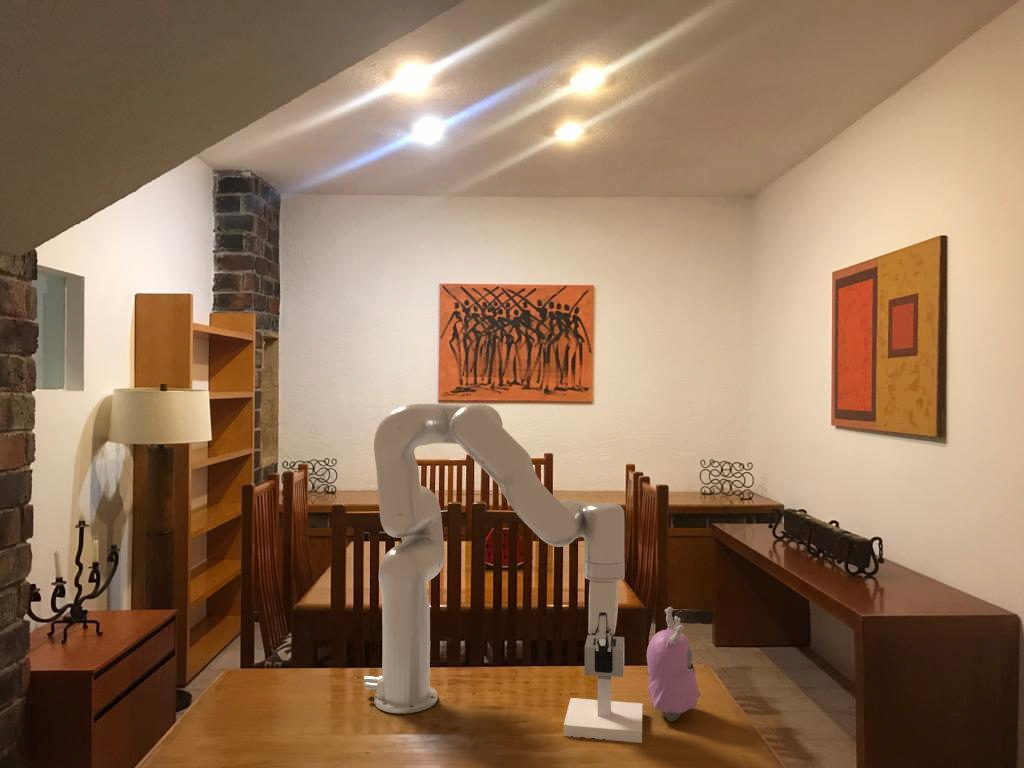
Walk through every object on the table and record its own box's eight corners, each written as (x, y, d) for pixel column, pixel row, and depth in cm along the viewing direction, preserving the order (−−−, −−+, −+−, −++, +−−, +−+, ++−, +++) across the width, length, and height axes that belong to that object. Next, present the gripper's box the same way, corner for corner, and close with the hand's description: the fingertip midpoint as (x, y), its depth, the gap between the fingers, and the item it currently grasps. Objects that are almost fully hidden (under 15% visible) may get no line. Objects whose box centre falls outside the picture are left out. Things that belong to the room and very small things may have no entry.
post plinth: (563, 736, 133) (563, 686, 133) (570, 708, 145) (570, 662, 145) (641, 742, 130) (641, 692, 130) (642, 713, 142) (642, 667, 142)
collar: (584, 674, 135) (584, 647, 135) (587, 660, 142) (587, 634, 142) (623, 677, 133) (623, 649, 133) (624, 663, 140) (624, 637, 140)
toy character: (702, 731, 135) (702, 622, 135) (646, 725, 137) (646, 618, 137) (699, 703, 147) (699, 603, 147) (647, 699, 149) (647, 600, 149)
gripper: (588, 558, 147) (588, 647, 147) (580, 580, 130) (580, 680, 130) (625, 559, 146) (626, 649, 145) (623, 582, 129) (623, 683, 128)
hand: (604, 663), depth 138 cm, fingers closed on collar, 7 cm apart
